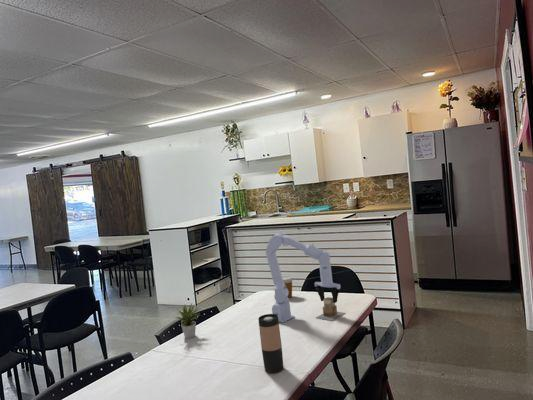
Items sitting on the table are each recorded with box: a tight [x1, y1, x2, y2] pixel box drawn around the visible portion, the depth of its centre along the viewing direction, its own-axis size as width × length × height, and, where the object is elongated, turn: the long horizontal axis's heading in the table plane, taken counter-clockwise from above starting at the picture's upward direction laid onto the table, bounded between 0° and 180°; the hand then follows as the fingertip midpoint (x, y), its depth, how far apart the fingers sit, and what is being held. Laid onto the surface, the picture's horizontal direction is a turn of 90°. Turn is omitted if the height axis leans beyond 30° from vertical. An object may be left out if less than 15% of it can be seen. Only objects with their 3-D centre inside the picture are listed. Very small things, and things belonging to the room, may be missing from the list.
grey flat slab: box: [315, 311, 346, 322], centre depth 200 cm, size 12×10×1 cm
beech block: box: [323, 296, 336, 308], centre depth 200 cm, size 4×4×4 cm
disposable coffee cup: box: [282, 275, 293, 299], centre depth 243 cm, size 10×10×12 cm
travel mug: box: [257, 313, 284, 375], centre depth 148 cm, size 8×8×20 cm
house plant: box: [175, 303, 202, 339], centre depth 193 cm, size 14×14×16 cm
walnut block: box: [322, 304, 338, 317], centre depth 200 cm, size 5×5×4 cm
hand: (329, 301), depth 200 cm, fingers open, 7 cm apart
